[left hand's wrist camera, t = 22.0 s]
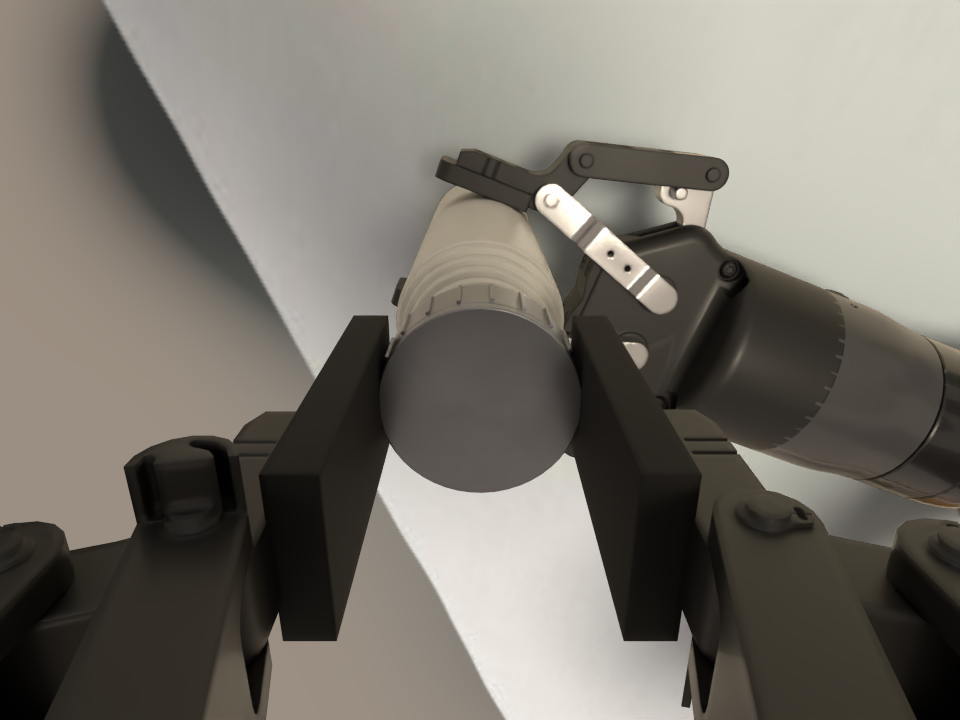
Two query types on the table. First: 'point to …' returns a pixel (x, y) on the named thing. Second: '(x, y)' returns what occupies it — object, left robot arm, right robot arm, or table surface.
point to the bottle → (479, 254)
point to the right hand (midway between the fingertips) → (418, 231)
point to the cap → (480, 389)
